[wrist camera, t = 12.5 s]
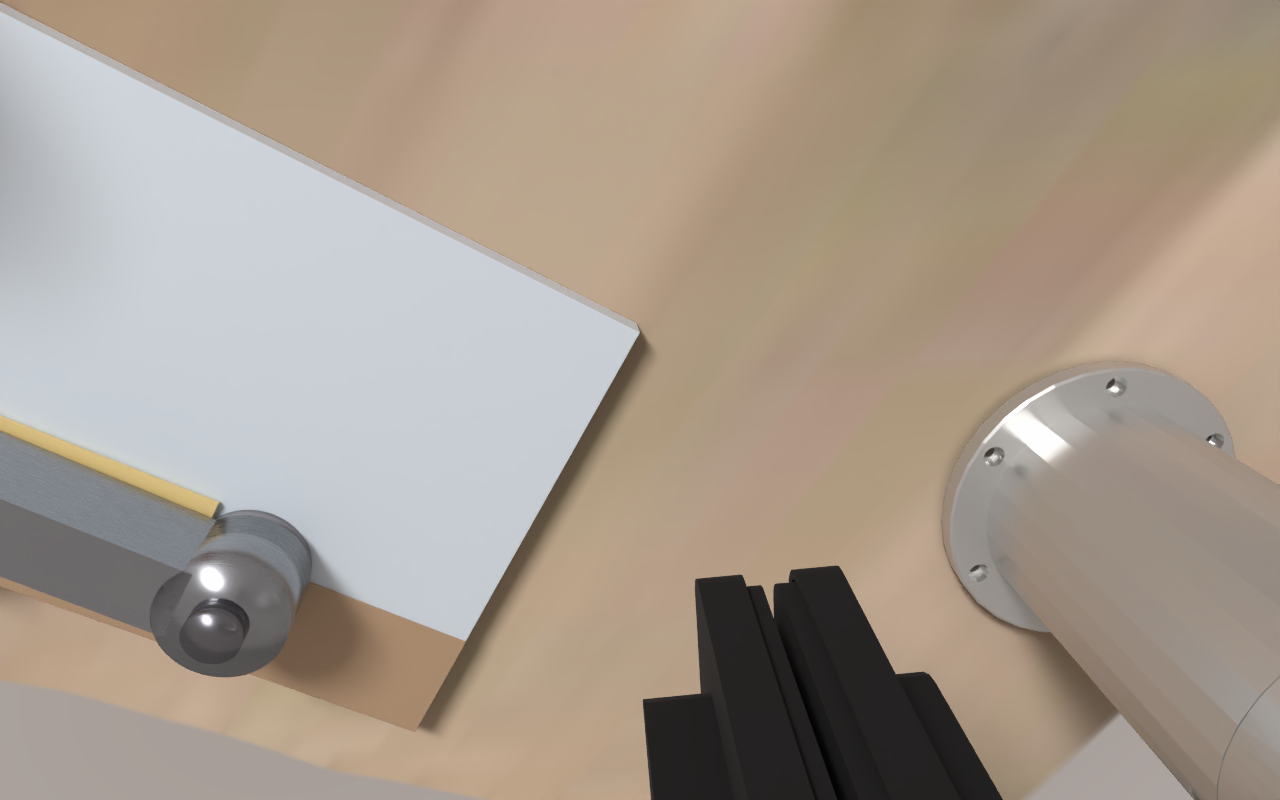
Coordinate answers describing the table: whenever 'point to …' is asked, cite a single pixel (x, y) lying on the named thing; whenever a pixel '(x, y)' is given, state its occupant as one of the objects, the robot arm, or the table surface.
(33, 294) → the door board
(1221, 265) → the table surface
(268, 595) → the latch bar
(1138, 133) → the table surface
